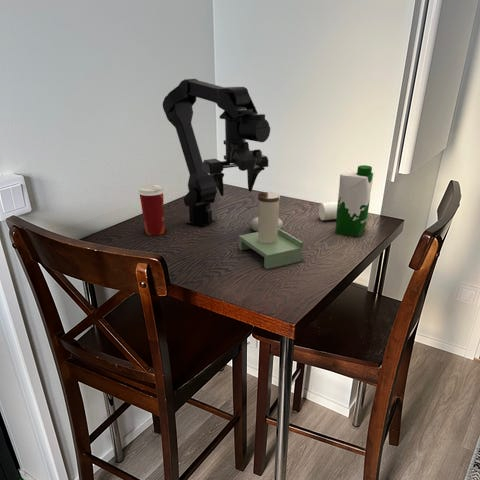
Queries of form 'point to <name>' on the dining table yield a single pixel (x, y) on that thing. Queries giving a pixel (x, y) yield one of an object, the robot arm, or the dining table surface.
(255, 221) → the donut
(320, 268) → the dining table surface
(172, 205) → the dining table surface
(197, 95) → the robot arm
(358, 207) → the milk carton
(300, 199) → the dining table surface
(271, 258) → the shelf
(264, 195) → the canister
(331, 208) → the roll
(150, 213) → the paper cup
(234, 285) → the dining table surface
